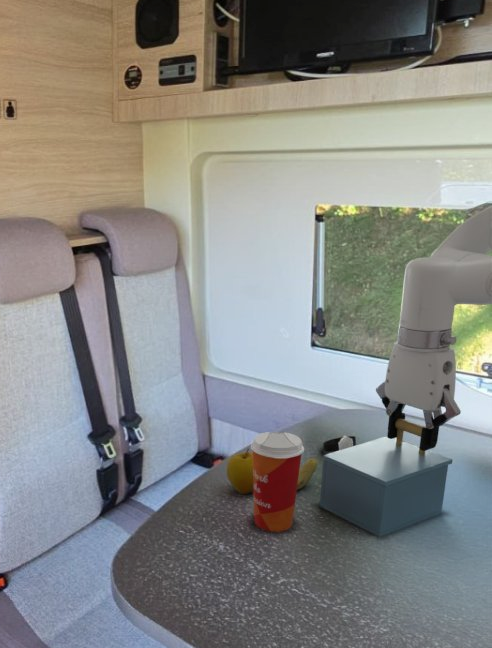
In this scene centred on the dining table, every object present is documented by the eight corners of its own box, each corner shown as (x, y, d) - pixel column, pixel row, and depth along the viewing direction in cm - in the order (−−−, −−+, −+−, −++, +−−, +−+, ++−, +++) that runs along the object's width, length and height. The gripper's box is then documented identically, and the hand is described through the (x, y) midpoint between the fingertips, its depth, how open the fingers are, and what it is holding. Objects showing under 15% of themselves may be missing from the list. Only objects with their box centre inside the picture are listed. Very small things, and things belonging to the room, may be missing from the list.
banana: (307, 474, 136) (309, 455, 135) (320, 478, 134) (321, 458, 133) (281, 493, 129) (282, 473, 128) (294, 497, 128) (295, 476, 126)
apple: (256, 482, 134) (258, 442, 131) (266, 497, 128) (268, 456, 125) (222, 484, 134) (223, 444, 131) (230, 499, 128) (231, 458, 125)
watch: (333, 458, 143) (335, 441, 141) (316, 450, 147) (317, 434, 145) (361, 449, 146) (363, 433, 145) (343, 442, 150) (345, 426, 148)
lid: (387, 439, 127) (390, 410, 126) (452, 463, 117) (456, 431, 115) (323, 459, 121) (325, 428, 119) (385, 486, 110) (388, 453, 108)
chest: (379, 486, 130) (383, 441, 127) (441, 513, 120) (448, 465, 117) (319, 506, 124) (323, 459, 121) (379, 537, 113) (385, 486, 110)
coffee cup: (247, 510, 124) (250, 429, 119) (296, 512, 122) (302, 430, 117) (248, 534, 116) (251, 448, 111) (301, 537, 115) (307, 450, 109)
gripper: (490, 344, 109) (473, 454, 115) (394, 324, 123) (384, 423, 129) (457, 352, 106) (441, 465, 112) (363, 331, 120) (354, 432, 126)
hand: (411, 441), depth 120 cm, fingers open, 5 cm apart
